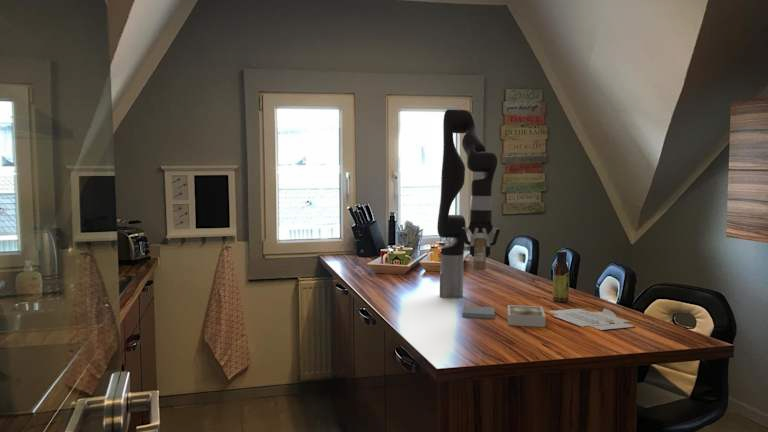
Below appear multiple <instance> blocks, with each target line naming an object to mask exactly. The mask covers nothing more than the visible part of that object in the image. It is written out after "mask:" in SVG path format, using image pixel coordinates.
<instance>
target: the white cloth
mask: <svg viewBox="0 0 768 432" xmlns="http://www.w3.org/2000/svg"><path fill="white" fill-rule="evenodd" d="M548 313H551V314H552V317H555V318H557V319H561V320H564V321H566V322H569V323H571V324H574V325H576V326H579V327H580V328H585V327H584V326H590V327H589V328H592V327H594V328H593V329H595V328H596V329H595V330H597V329H600V330H602V331H605V330H611V329H612V330H614V329H616V330H617V329H624V328H626V329H627V328H636V326H634V325H631V324H628V323H623V322H630V323H631V321H630V320H626V319H623V318H621V317H617V314H615V313H614V311H612V310H610V309H608V308H606V307H604V308H603V309H602V311H588V310H586V309H582V308H570V309H558V310H549V312H548ZM553 314H554V315H553ZM610 322H611V323H615V324H610ZM600 330H599V331H600Z"/></svg>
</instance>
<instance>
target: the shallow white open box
mask: <svg viewBox="0 0 768 432" xmlns="http://www.w3.org/2000/svg"><path fill="white" fill-rule="evenodd" d="M513 308H529V309H537V311H538V316H536V315H517V314H513ZM506 309H507V310H506V311H507V314H506V315H507V325H508V326H518V327H519V326H521V327H537V328H538V327H540V328H546V319H547V318H546V314H545V311H544V308H543V306H539V305H538V306H537V305H536V306H534V305H533V306H532V305H517V304H516V305H515V304H514V305H512V304H507V307H506Z"/></svg>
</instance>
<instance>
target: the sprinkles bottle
mask: <svg viewBox="0 0 768 432" xmlns="http://www.w3.org/2000/svg"><path fill="white" fill-rule="evenodd" d="M485 235H486V234H484V233H476V239H475V242H474V257H473V269H472V270H473V271H486V270H487V268H486V267H487V266H486V265H487V257H486V246H487V244H486V241H485ZM474 237H475V236H474Z"/></svg>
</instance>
